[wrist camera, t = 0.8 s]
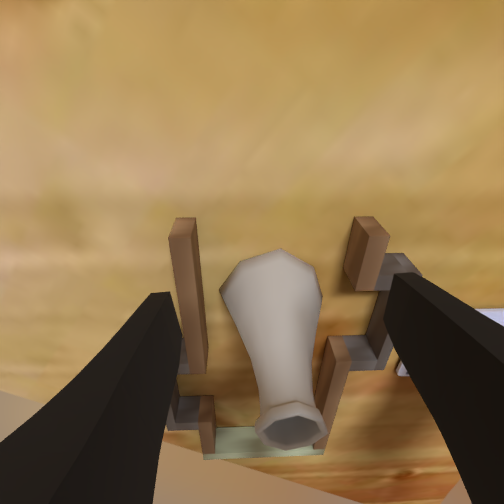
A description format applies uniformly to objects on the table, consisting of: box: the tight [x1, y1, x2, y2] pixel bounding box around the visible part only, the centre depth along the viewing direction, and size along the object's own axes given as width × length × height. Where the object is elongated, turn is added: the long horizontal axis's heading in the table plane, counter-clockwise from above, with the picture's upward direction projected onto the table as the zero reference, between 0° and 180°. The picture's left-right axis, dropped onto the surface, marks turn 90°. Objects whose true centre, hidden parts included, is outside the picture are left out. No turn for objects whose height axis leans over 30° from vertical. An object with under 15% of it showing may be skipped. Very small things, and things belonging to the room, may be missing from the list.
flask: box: [219, 249, 328, 451], centre depth 18 cm, size 7×7×10 cm
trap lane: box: [166, 217, 422, 460], centre depth 24 cm, size 18×26×2 cm
